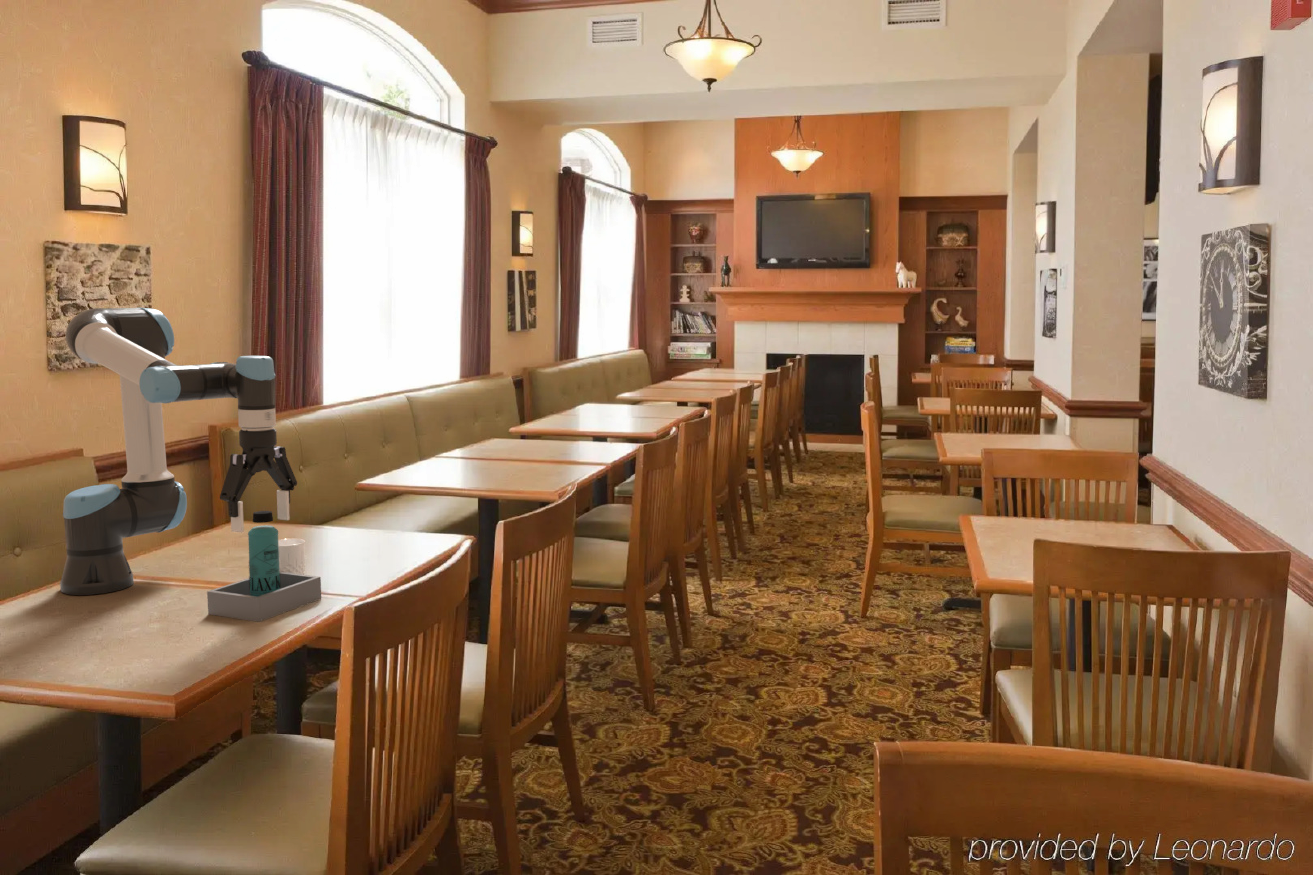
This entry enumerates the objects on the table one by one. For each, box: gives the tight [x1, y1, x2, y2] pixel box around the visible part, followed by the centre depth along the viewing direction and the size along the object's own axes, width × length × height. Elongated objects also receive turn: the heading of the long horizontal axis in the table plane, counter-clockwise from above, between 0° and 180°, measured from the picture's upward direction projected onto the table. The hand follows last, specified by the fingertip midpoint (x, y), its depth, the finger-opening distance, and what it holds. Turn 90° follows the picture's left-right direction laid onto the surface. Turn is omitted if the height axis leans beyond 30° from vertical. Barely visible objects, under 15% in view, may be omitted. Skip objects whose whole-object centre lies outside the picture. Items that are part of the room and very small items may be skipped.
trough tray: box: [206, 572, 322, 622], centre depth 232 cm, size 14×19×5 cm
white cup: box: [278, 538, 306, 575], centre depth 251 cm, size 8×8×10 cm
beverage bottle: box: [247, 510, 281, 597], centre depth 231 cm, size 6×7×20 cm
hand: (261, 525), depth 230 cm, fingers open, 13 cm apart
